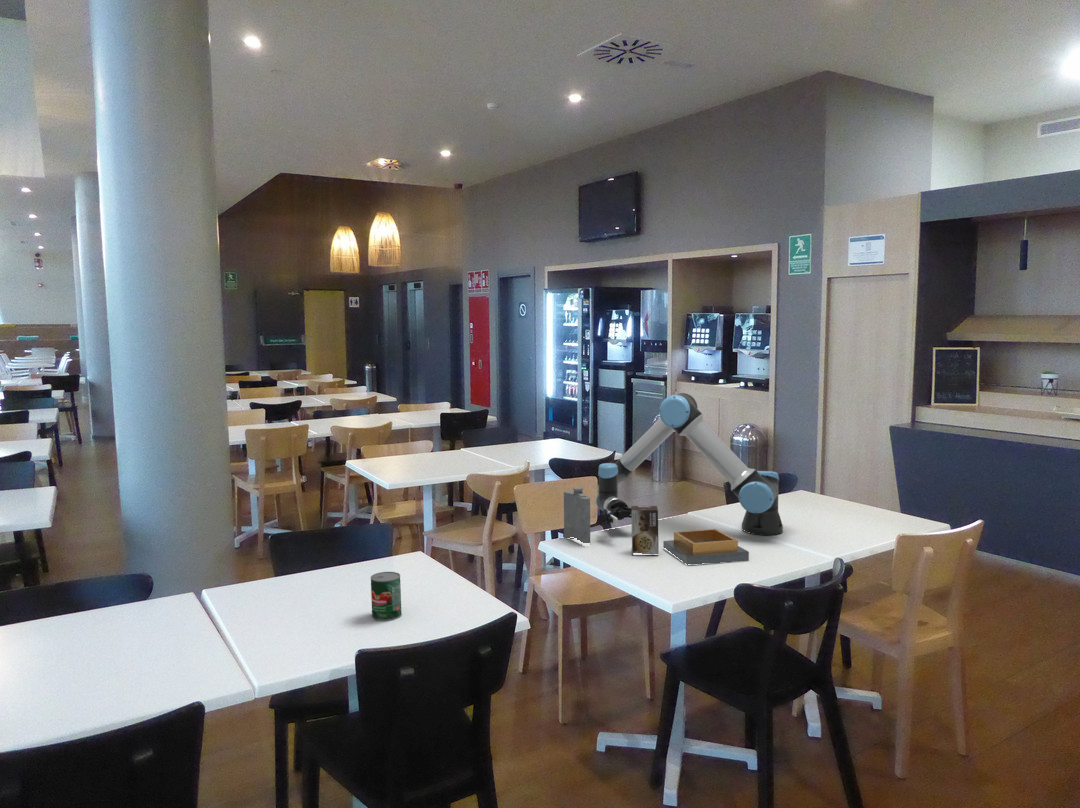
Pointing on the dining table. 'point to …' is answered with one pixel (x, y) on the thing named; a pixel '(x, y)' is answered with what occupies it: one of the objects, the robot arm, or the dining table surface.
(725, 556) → the square framed tray
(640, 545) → the coffee box
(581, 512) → the hip flask
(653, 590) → the dining table surface
